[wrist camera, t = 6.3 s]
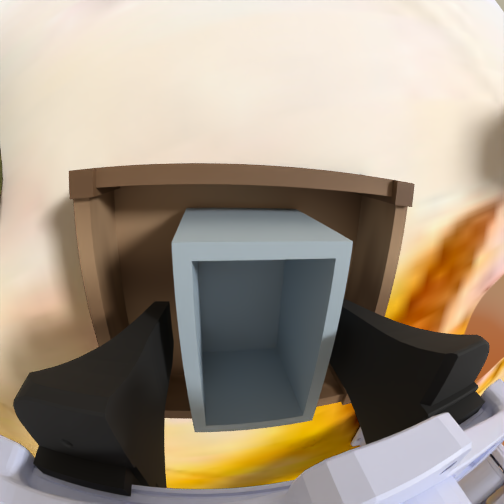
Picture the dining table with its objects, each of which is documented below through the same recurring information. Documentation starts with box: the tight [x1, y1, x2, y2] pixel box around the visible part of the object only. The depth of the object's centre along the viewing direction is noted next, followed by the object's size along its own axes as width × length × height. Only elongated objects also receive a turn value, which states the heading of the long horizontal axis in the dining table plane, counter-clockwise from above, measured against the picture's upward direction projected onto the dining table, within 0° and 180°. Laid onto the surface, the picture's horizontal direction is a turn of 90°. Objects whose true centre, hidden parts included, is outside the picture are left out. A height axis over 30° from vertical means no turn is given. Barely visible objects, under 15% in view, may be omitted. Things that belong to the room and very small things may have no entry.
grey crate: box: [172, 208, 353, 432], centre depth 11 cm, size 8×5×6 cm, turn 178°
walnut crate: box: [69, 163, 414, 418], centre depth 12 cm, size 12×13×4 cm
